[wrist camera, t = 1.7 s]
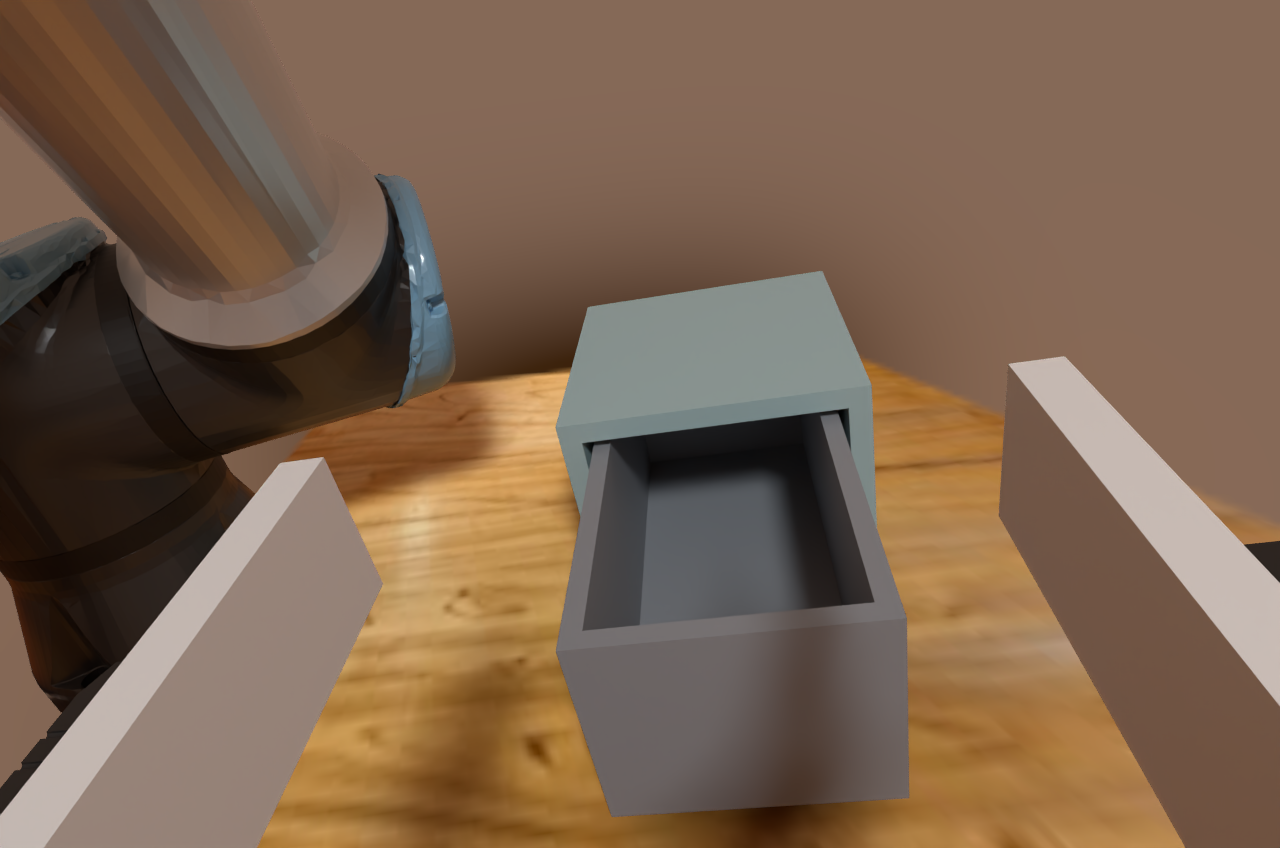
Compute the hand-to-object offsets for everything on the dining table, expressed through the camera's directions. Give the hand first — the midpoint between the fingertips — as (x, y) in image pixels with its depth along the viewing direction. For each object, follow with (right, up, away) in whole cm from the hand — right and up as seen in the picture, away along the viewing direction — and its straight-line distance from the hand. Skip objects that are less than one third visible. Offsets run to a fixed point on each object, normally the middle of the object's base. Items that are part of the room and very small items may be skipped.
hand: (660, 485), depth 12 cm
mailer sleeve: (+5, -5, +34) cm, 35 cm away
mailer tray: (+5, -7, +27) cm, 29 cm away
